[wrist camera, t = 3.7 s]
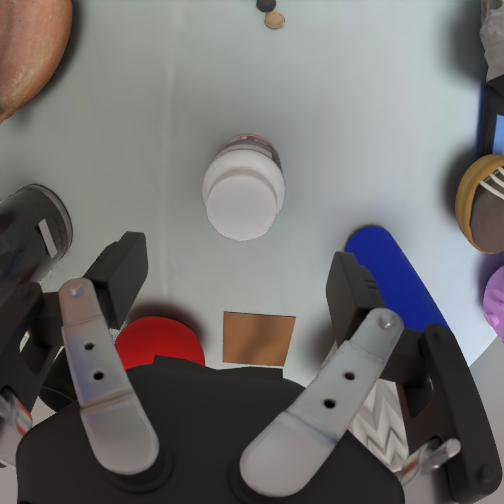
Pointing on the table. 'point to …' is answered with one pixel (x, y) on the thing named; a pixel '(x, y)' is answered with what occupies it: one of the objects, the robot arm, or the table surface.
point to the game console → (492, 123)
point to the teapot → (495, 302)
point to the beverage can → (395, 278)
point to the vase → (381, 423)
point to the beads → (271, 13)
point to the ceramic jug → (30, 48)
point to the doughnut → (482, 204)
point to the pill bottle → (244, 188)
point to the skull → (493, 41)
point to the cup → (58, 385)
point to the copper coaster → (256, 338)
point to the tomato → (157, 342)
